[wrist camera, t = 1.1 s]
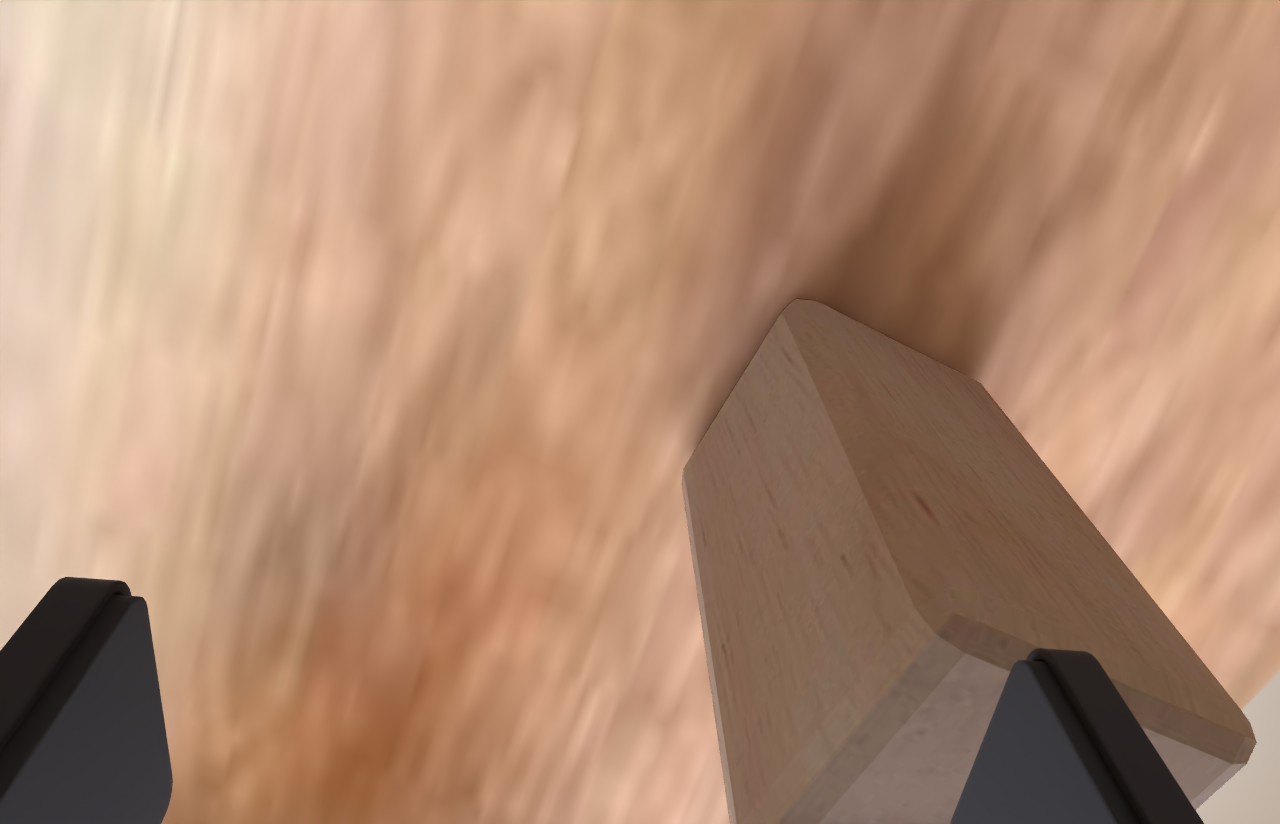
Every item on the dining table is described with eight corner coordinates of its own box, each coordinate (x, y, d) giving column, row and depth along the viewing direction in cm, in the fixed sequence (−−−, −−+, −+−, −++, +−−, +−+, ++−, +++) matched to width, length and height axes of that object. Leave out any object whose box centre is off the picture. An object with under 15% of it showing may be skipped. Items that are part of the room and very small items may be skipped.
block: (790, 281, 38) (955, 605, 21) (991, 382, 41) (1292, 749, 23) (670, 474, 42) (722, 885, 25) (860, 555, 45) (1030, 982, 27)
